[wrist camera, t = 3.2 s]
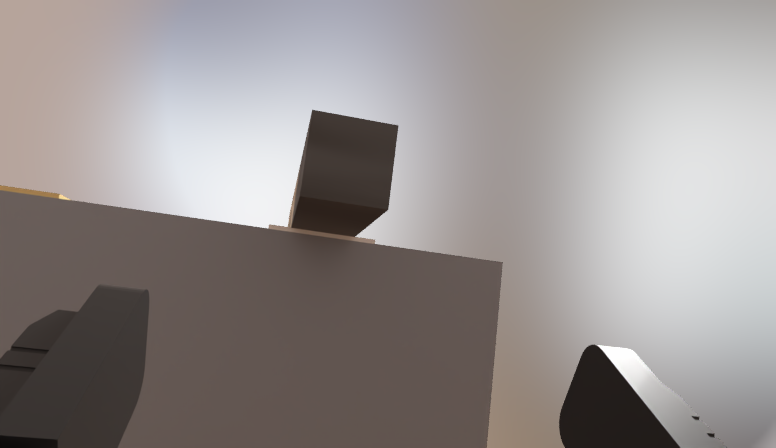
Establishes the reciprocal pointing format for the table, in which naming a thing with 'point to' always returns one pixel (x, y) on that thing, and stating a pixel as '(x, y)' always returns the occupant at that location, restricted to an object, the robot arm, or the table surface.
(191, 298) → the cabinet
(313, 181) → the dark brown square bar
